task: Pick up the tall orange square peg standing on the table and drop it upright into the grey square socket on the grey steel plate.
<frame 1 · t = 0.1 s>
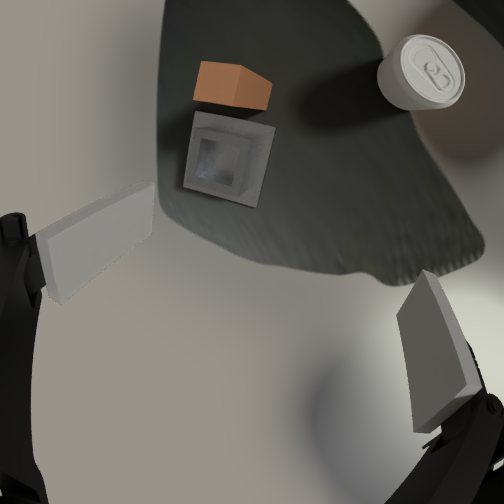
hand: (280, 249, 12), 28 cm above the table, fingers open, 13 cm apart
grey square socket: (227, 157, 39), on the table
orange square peg: (255, 94, 34), on the table
beverage can: (404, 82, 28), on the table
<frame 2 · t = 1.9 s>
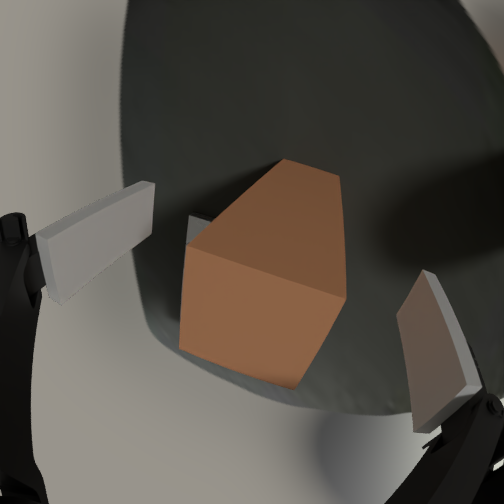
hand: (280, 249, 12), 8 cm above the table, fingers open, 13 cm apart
grey square socket: (248, 293, 25), on the table
orange square peg: (303, 193, 19), on the table
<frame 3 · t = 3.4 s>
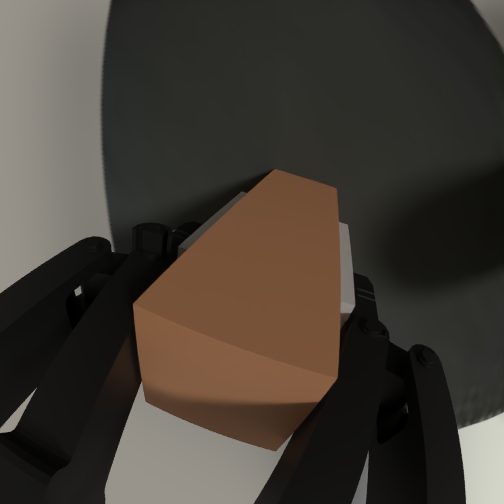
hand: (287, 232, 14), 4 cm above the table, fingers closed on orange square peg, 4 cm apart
orange square peg: (297, 207, 18), on the table, touching gripper
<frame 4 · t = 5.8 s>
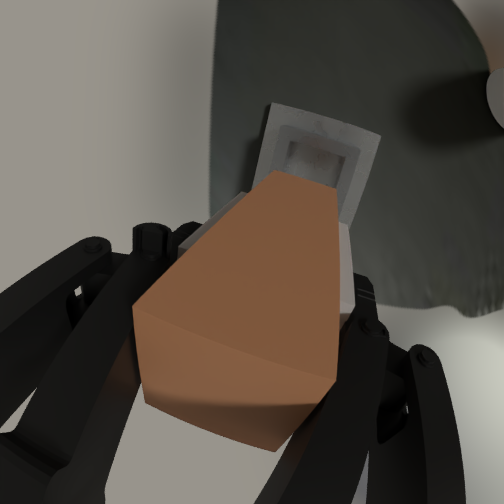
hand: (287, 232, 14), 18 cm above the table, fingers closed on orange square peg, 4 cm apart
grey square socket: (313, 167, 30), on the table
orange square peg: (297, 208, 18), point 14 cm above the table, touching gripper
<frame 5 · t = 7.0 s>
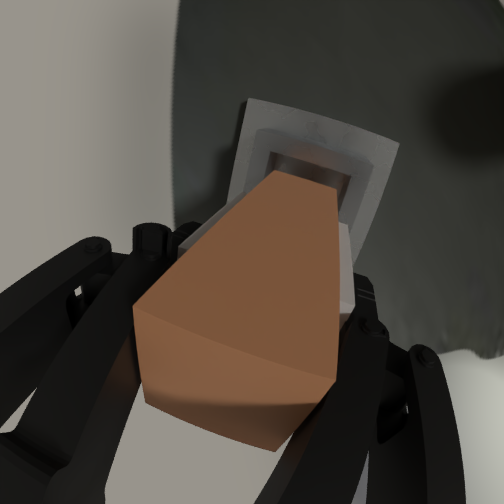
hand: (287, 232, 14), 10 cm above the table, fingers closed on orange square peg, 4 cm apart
grey square socket: (305, 186, 22), on the table
orange square peg: (297, 208, 18), point 5 cm above the table, touching gripper
when the fingers open (7 cm above the table, at t = 8.1 s): orange square peg drops 2 cm, resting on grey square socket.
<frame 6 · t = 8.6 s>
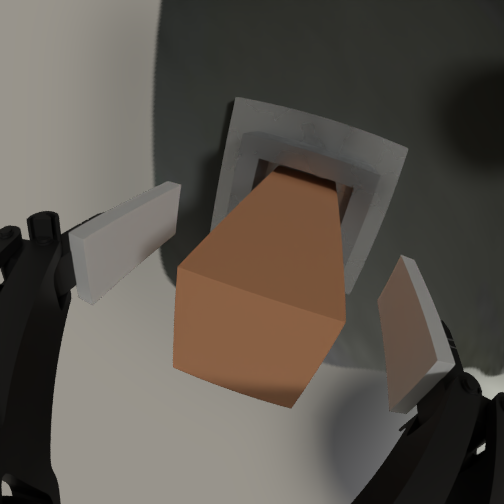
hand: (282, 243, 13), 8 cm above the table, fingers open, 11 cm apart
grey square socket: (301, 197, 20), on the table
orange square peg: (299, 200, 19), point 1 cm above the table, touching grey square socket
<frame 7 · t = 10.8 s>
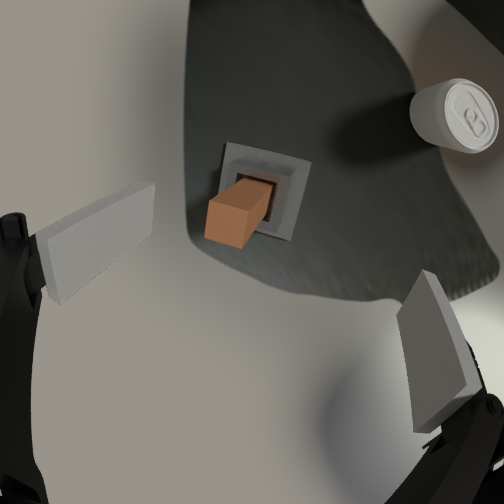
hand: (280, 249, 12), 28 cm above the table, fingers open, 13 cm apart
grey square socket: (260, 190, 40), on the table
orange square peg: (259, 191, 39), point 1 cm above the table, touching grey square socket
beverage can: (433, 116, 29), on the table
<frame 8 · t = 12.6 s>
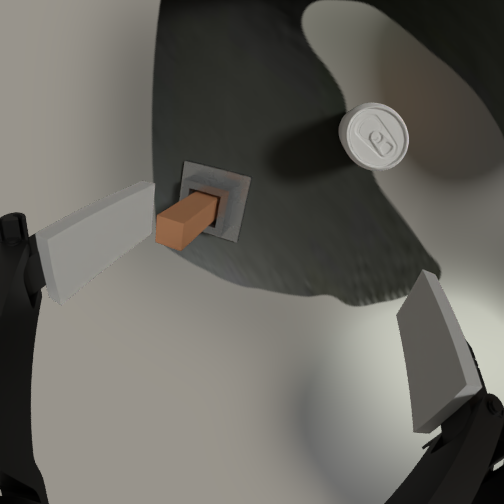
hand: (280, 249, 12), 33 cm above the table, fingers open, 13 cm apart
grey square socket: (212, 200, 48), on the table
orange square peg: (210, 201, 48), point 1 cm above the table, touching grey square socket
beverage can: (364, 133, 37), on the table
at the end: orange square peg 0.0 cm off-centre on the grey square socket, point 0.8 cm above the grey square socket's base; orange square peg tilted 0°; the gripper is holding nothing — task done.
